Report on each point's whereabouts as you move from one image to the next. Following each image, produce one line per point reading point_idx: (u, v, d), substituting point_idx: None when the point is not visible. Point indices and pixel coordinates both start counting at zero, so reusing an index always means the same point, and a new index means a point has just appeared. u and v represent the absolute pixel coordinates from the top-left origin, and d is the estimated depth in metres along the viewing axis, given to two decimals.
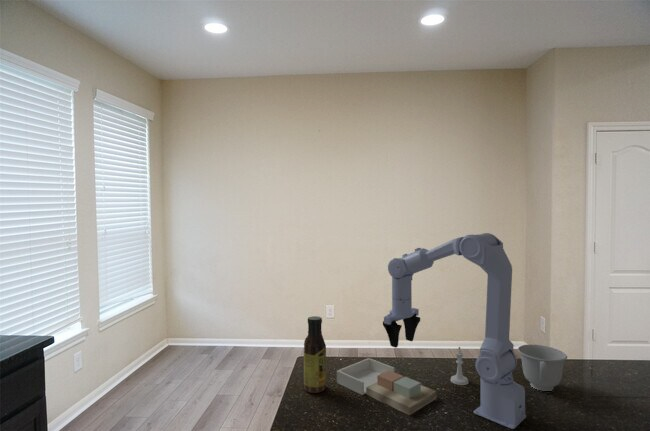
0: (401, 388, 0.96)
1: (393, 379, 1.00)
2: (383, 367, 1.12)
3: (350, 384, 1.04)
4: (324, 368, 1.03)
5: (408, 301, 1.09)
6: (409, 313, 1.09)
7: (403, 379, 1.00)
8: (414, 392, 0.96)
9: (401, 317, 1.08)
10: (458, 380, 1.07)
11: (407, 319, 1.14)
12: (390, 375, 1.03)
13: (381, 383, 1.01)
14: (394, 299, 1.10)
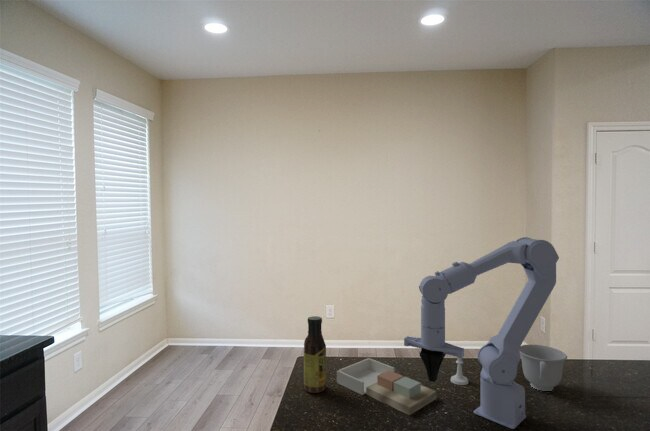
0: (401, 388, 0.96)
1: (393, 379, 1.00)
2: (383, 367, 1.12)
3: (350, 384, 1.04)
4: (324, 368, 1.03)
5: (426, 329, 0.90)
6: (428, 344, 0.90)
7: (403, 379, 1.00)
8: (414, 392, 0.96)
9: (417, 344, 0.92)
10: (458, 380, 1.07)
11: None
12: (390, 375, 1.03)
13: (381, 383, 1.01)
14: None
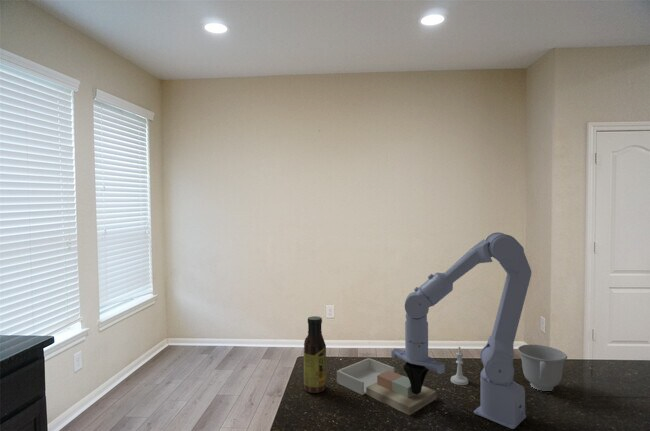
0: (399, 387, 0.97)
1: (393, 379, 1.00)
2: (383, 367, 1.12)
3: (350, 384, 1.04)
4: (324, 368, 1.03)
5: (408, 343, 0.94)
6: (410, 358, 0.94)
7: (401, 378, 1.00)
8: None
9: (401, 357, 0.97)
10: (458, 380, 1.07)
11: None
12: (390, 374, 1.03)
13: (381, 383, 1.01)
14: None
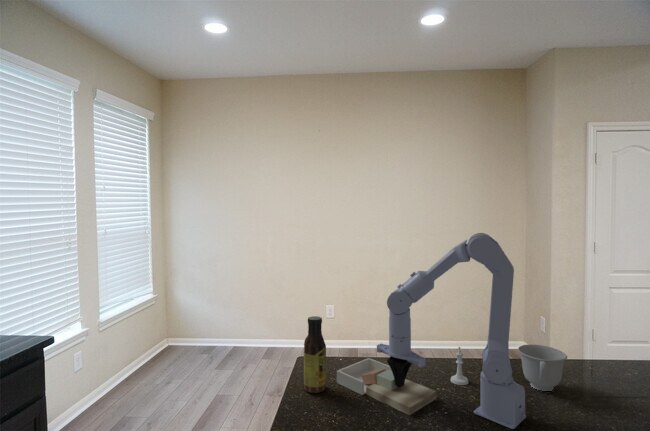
0: (384, 380, 1.01)
1: (375, 372, 1.05)
2: (383, 367, 1.12)
3: (350, 384, 1.04)
4: (324, 368, 1.03)
5: (391, 338, 0.98)
6: (393, 352, 0.98)
7: (386, 372, 1.04)
8: None
9: (385, 351, 1.01)
10: (458, 380, 1.07)
11: None
12: (373, 371, 1.07)
13: (366, 381, 1.05)
14: None
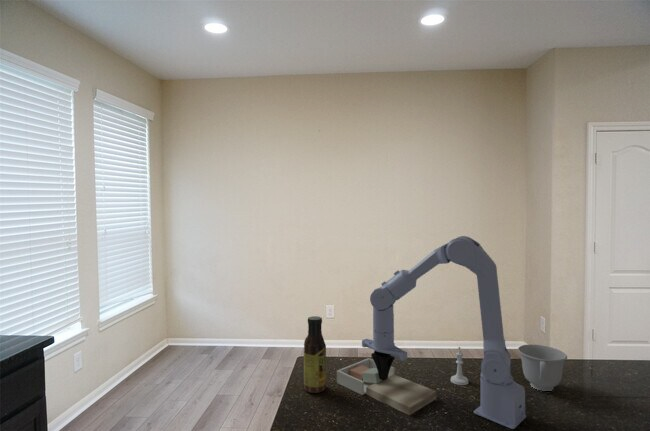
0: (368, 375, 1.05)
1: None
2: None
3: (350, 384, 1.04)
4: (324, 368, 1.03)
5: (375, 333, 1.03)
6: (376, 346, 1.02)
7: (371, 369, 1.08)
8: None
9: (370, 346, 1.05)
10: (458, 380, 1.07)
11: None
12: (361, 369, 1.11)
13: (352, 376, 1.09)
14: None
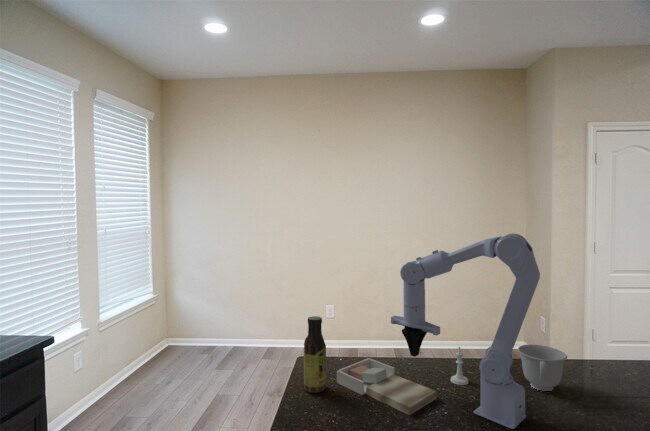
0: (368, 375, 1.05)
1: None
2: (383, 367, 1.12)
3: (350, 384, 1.04)
4: (324, 368, 1.03)
5: (406, 308, 1.00)
6: (407, 322, 1.00)
7: (370, 369, 1.09)
8: (380, 377, 1.05)
9: (400, 322, 1.02)
10: (458, 380, 1.07)
11: None
12: (360, 368, 1.11)
13: (352, 376, 1.09)
14: None
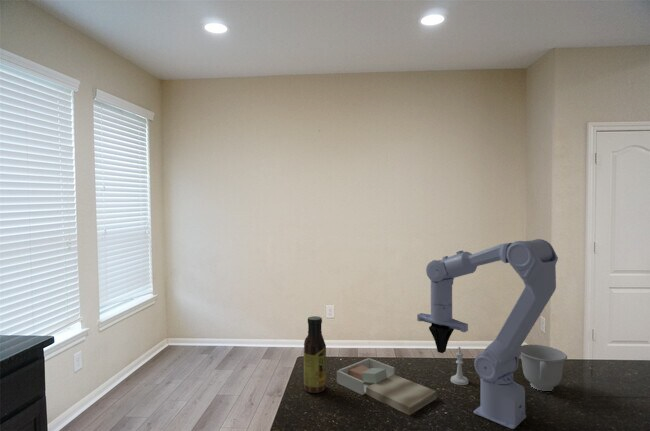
0: (368, 375, 1.05)
1: None
2: (383, 367, 1.12)
3: (350, 384, 1.04)
4: (324, 368, 1.03)
5: (434, 306, 1.02)
6: (435, 319, 1.02)
7: (370, 369, 1.09)
8: (380, 377, 1.05)
9: (427, 319, 1.05)
10: (458, 380, 1.07)
11: None
12: (360, 368, 1.11)
13: (352, 376, 1.09)
14: None
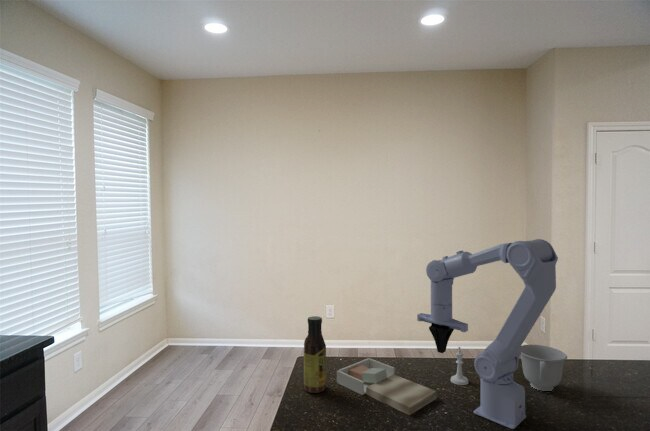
0: (368, 375, 1.05)
1: None
2: (383, 367, 1.12)
3: (350, 384, 1.04)
4: (324, 368, 1.03)
5: (434, 306, 1.02)
6: (435, 319, 1.02)
7: (370, 369, 1.09)
8: (380, 377, 1.05)
9: (427, 319, 1.05)
10: (458, 380, 1.07)
11: None
12: (360, 368, 1.11)
13: (352, 376, 1.09)
14: None
